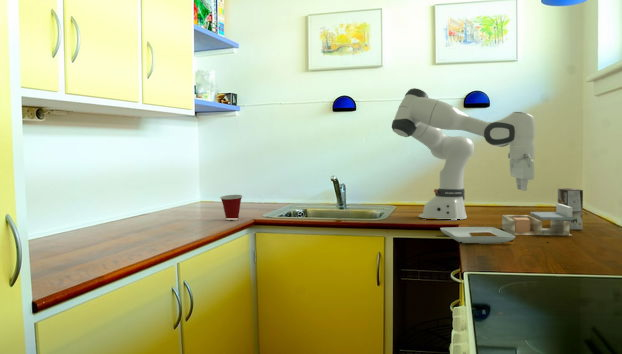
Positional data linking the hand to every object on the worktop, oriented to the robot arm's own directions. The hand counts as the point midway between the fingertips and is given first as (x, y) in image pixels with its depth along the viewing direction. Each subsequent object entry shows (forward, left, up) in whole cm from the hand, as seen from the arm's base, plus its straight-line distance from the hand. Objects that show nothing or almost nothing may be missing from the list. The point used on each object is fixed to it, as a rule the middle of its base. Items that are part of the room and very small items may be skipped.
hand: (521, 190), depth 186 cm
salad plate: (-19, -12, -18) cm, 29 cm away
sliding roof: (+11, 0, -11) cm, 15 cm away
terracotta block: (0, 0, -16) cm, 16 cm away
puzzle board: (+5, 0, -17) cm, 18 cm away
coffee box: (+23, +16, -17) cm, 33 cm away
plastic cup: (-127, +30, -17) cm, 132 cm away
